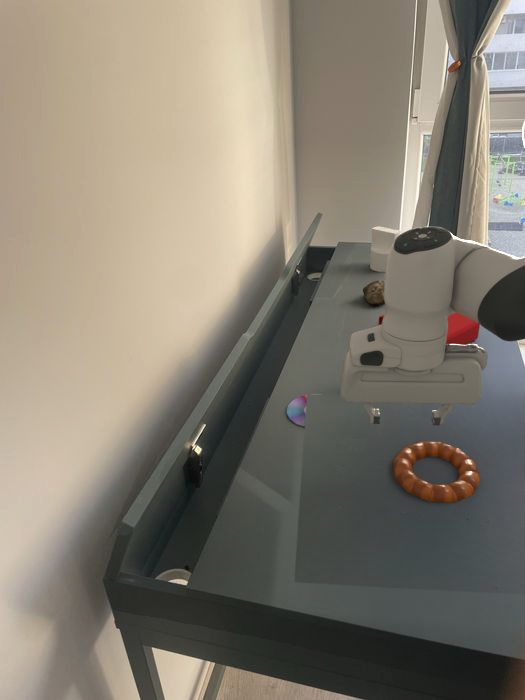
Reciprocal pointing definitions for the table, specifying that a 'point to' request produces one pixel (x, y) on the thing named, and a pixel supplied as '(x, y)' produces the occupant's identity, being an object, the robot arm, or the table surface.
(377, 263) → the cylinder with rectangular tab
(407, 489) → the ring
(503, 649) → the table surface
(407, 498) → the table surface
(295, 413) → the cd
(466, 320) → the red device housing
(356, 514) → the table surface
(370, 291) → the fossilized seashell
